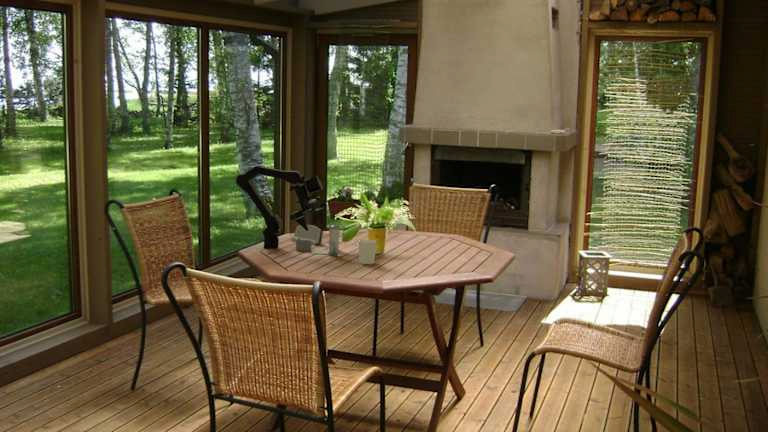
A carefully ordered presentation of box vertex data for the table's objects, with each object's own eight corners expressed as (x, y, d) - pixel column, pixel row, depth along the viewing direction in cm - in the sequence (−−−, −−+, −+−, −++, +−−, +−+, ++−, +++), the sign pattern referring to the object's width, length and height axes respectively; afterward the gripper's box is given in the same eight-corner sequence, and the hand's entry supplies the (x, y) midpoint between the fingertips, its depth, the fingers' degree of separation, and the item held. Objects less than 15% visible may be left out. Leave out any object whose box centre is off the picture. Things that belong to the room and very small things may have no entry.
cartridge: (328, 256, 380) (329, 226, 378) (328, 254, 385) (329, 224, 383) (338, 256, 381) (339, 226, 379) (337, 254, 385) (339, 225, 383)
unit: (296, 250, 390) (296, 238, 390) (295, 248, 395) (296, 237, 394) (310, 250, 391) (311, 239, 390) (310, 248, 396) (310, 237, 395)
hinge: (290, 240, 414) (295, 221, 415) (296, 242, 418) (301, 223, 419) (315, 245, 404) (320, 226, 405) (321, 247, 408) (326, 228, 409)
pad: (311, 254, 384) (311, 253, 384) (310, 250, 392) (310, 249, 392) (328, 254, 385) (328, 253, 385) (327, 250, 393) (327, 250, 393)
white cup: (378, 263, 371) (380, 241, 369) (365, 265, 366) (366, 243, 364) (367, 260, 377) (368, 238, 375) (354, 262, 371) (355, 240, 370)
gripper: (296, 199, 377) (309, 231, 378) (327, 187, 388) (339, 218, 390) (284, 203, 385) (296, 235, 386) (314, 191, 397) (325, 222, 398)
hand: (314, 227), depth 390 cm, fingers open, 9 cm apart
